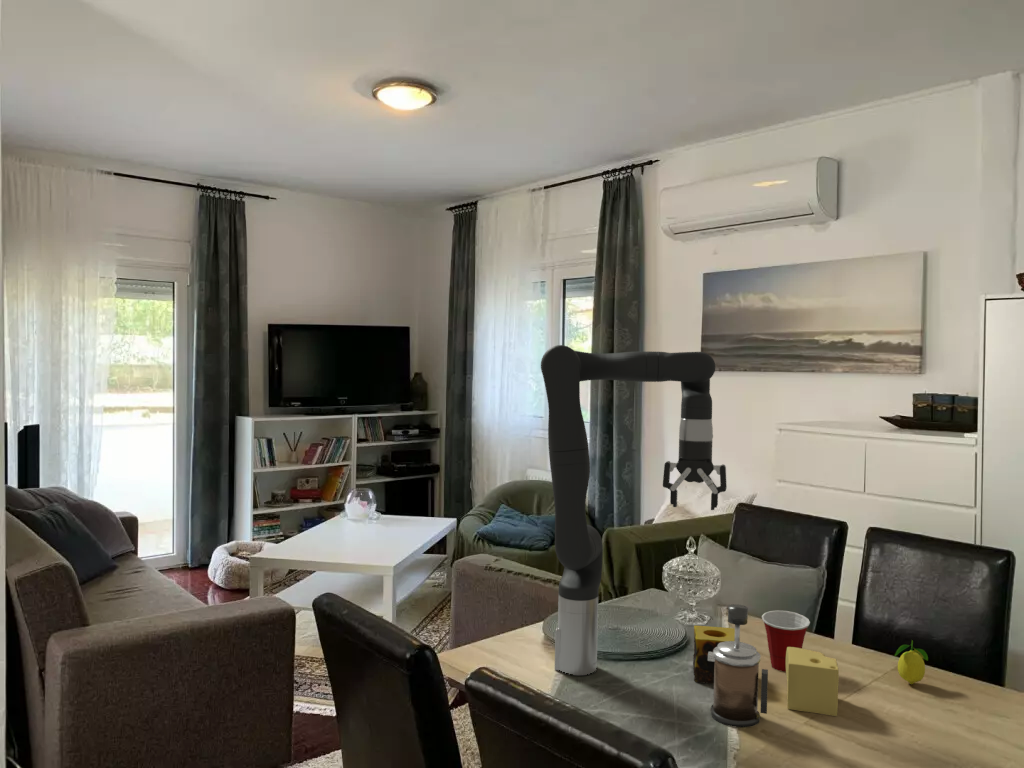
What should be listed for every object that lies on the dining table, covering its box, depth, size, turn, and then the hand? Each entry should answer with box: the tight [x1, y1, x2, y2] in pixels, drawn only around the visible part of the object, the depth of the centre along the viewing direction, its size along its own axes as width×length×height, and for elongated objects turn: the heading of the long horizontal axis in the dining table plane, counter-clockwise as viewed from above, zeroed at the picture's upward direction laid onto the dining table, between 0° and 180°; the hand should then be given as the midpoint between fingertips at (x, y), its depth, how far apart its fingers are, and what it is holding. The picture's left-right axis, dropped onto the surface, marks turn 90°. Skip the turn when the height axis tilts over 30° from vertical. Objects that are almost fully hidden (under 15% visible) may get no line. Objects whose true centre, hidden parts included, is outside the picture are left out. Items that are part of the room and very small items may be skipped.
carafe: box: [708, 647, 769, 728], centre depth 159 cm, size 12×10×13 cm
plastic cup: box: [761, 610, 811, 673], centre depth 186 cm, size 11×11×12 cm
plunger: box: [717, 603, 757, 658], centre depth 159 cm, size 8×8×9 cm
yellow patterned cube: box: [692, 624, 735, 685], centre depth 180 cm, size 10×10×10 cm
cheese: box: [785, 647, 840, 717], centre depth 166 cm, size 10×11×10 cm
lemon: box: [894, 639, 929, 685], centre depth 178 cm, size 7×6×10 cm
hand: (693, 508), depth 182 cm, fingers open, 8 cm apart
